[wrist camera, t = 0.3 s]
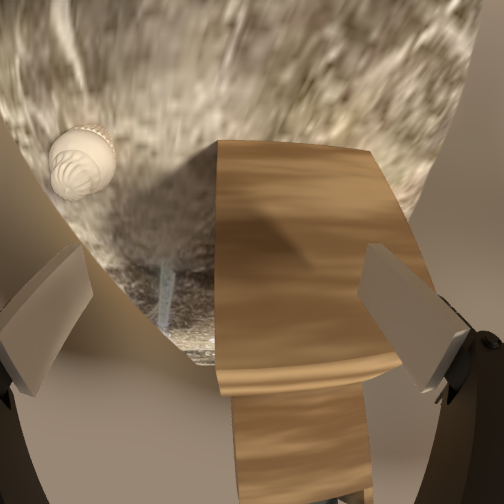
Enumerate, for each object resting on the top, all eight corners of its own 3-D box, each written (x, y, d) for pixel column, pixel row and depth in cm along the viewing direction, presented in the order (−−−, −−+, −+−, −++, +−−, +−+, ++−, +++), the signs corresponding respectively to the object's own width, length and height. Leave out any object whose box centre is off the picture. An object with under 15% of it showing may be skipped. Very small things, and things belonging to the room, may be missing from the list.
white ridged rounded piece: (59, 114, 18) (19, 165, 14) (122, 105, 18) (90, 156, 15) (74, 167, 23) (48, 222, 19) (130, 164, 24) (111, 221, 20)
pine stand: (218, 140, 22) (237, 612, 4) (369, 151, 24) (465, 536, 5) (220, 287, 44) (230, 504, 25) (308, 285, 45) (334, 491, 26)
